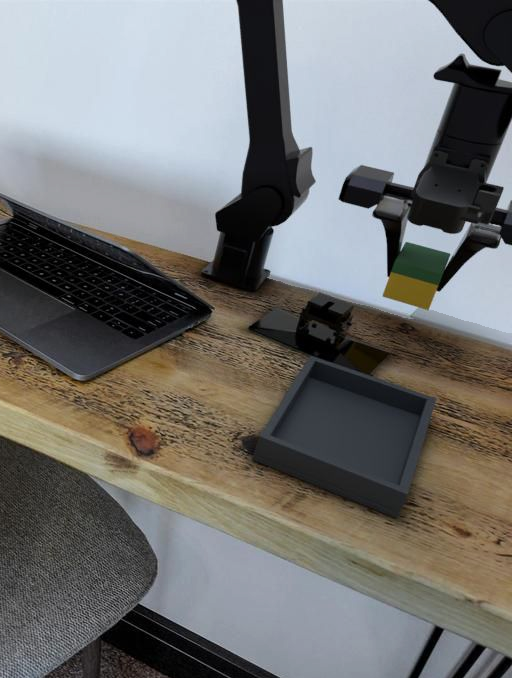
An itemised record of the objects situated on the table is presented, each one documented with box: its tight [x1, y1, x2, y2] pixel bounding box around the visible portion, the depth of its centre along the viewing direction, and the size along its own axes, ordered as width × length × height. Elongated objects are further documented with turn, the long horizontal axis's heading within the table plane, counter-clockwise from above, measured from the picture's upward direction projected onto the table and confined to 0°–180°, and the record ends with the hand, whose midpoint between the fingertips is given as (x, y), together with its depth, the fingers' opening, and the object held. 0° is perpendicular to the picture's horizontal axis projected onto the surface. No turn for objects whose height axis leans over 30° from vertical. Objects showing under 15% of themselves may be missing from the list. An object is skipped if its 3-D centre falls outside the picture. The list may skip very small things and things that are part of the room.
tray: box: [251, 356, 437, 519], centre depth 68 cm, size 16×11×2 cm
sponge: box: [382, 241, 452, 311], centre depth 85 cm, size 7×4×4 cm, turn 148°
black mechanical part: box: [247, 292, 392, 376], centre depth 82 cm, size 12×7×5 cm, turn 49°
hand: (413, 283), depth 86 cm, fingers closed on sponge, 4 cm apart
